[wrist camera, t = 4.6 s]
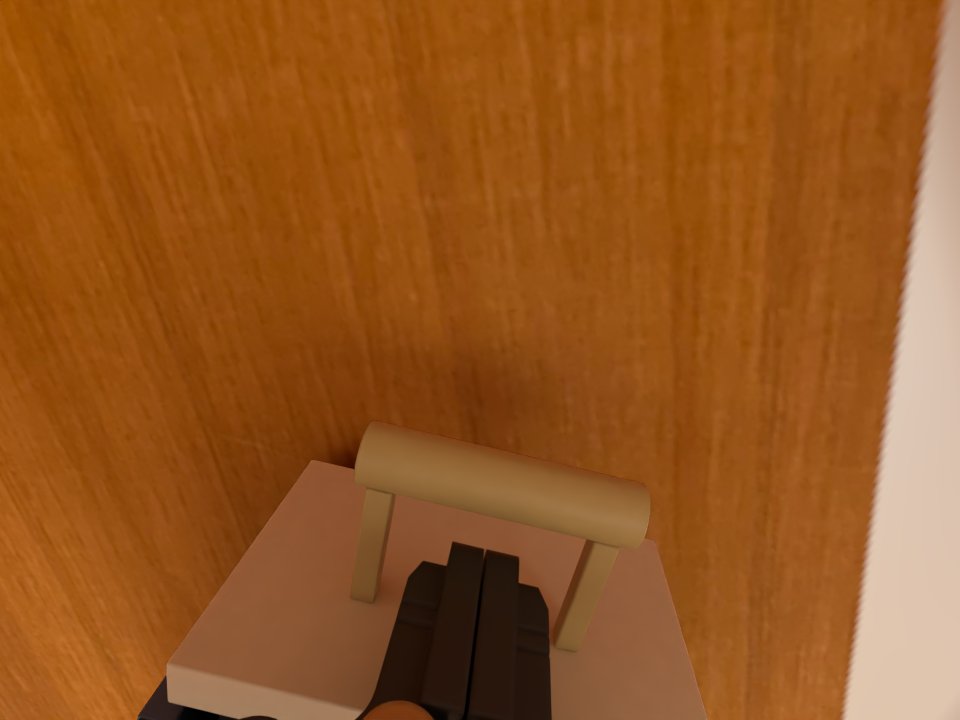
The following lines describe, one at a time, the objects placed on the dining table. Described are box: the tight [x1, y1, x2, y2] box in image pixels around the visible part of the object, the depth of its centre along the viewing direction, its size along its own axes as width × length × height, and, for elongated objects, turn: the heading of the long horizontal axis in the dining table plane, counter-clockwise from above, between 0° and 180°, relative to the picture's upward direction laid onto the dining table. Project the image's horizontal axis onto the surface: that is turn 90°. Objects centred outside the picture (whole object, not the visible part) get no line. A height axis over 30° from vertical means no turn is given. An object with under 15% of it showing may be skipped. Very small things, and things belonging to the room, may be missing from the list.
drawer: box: [166, 420, 708, 720], centre depth 15 cm, size 18×11×7 cm, turn 168°
